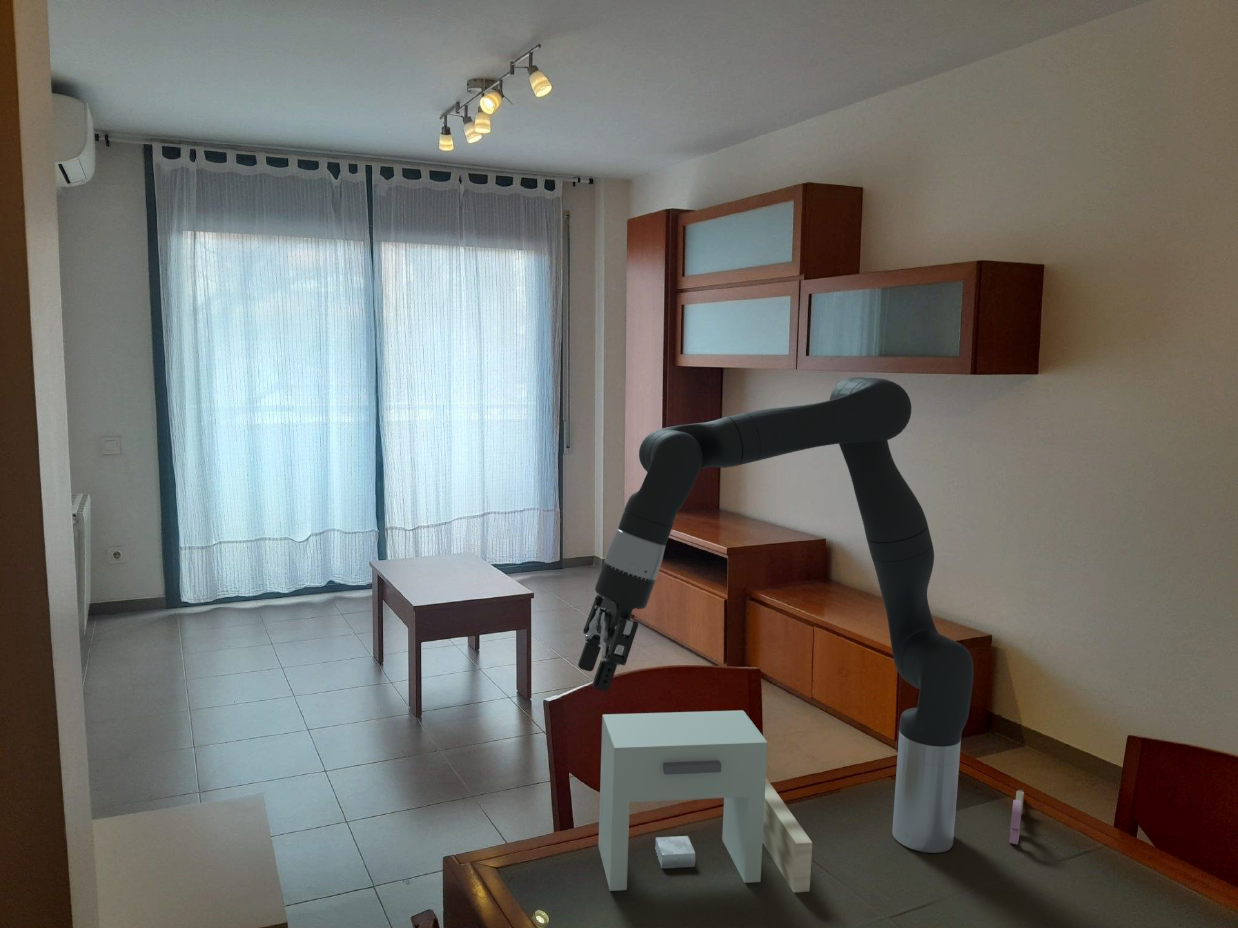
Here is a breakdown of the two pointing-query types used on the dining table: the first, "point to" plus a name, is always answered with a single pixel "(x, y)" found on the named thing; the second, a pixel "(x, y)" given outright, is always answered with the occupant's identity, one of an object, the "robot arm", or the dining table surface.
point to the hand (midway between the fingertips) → (591, 678)
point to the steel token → (675, 852)
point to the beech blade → (786, 842)
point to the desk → (683, 779)
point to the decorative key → (1016, 817)
